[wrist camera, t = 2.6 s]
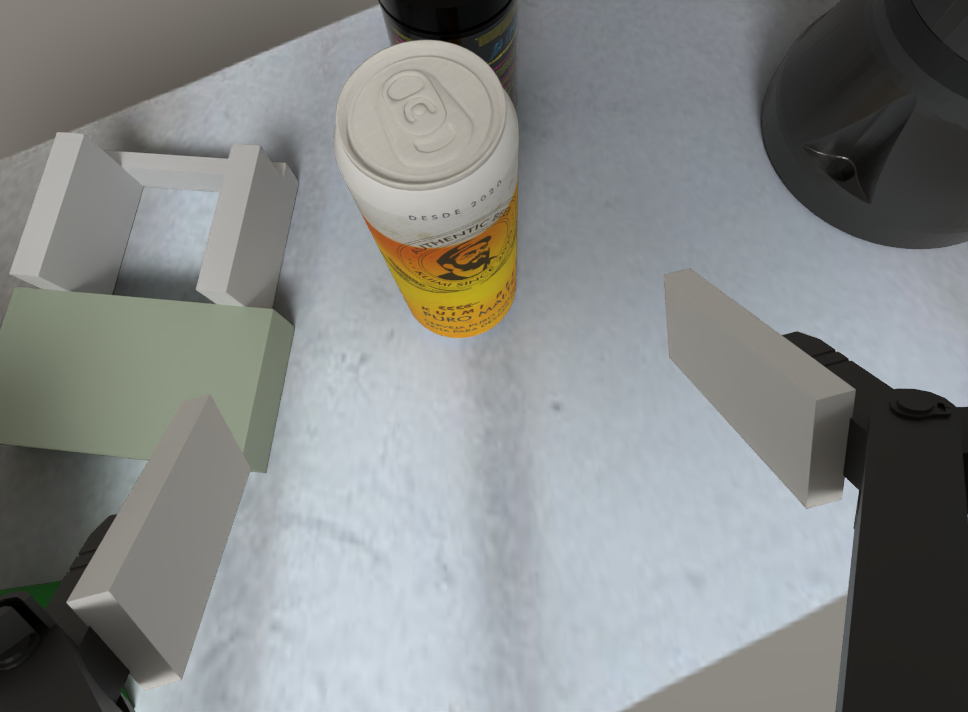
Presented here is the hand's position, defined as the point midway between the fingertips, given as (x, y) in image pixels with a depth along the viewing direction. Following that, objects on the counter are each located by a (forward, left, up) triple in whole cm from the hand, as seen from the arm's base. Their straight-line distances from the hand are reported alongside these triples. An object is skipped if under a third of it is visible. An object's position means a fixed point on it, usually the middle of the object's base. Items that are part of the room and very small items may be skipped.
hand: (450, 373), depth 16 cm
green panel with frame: (+18, -5, -14) cm, 23 cm away
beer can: (+2, -8, -14) cm, 16 cm away
